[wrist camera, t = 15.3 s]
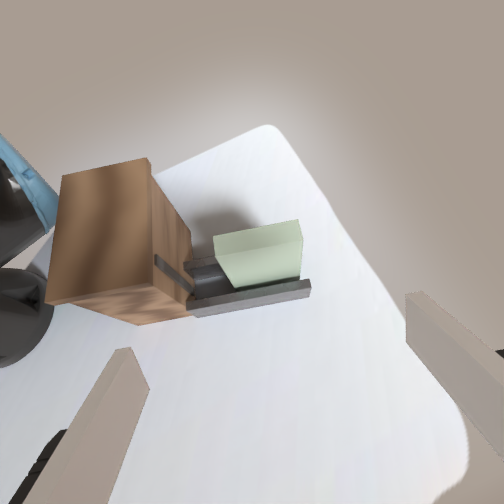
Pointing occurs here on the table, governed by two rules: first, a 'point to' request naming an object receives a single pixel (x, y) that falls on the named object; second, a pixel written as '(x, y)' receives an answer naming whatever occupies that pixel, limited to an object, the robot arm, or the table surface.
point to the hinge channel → (239, 299)
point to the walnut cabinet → (120, 246)
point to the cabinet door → (261, 255)
